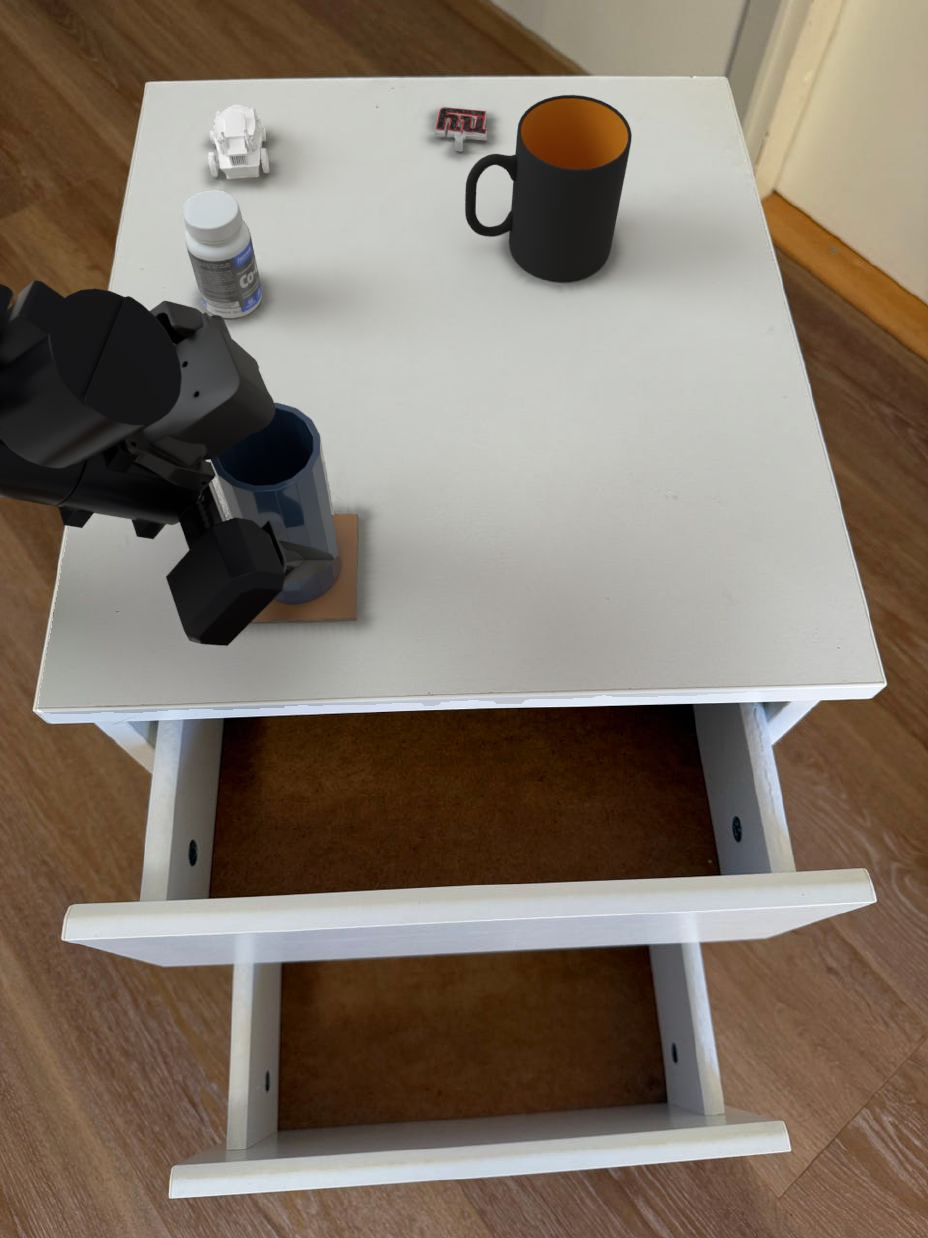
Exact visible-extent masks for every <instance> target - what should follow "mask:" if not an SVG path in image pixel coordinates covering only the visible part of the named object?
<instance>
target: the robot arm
mask: <svg viewBox="0 0 928 1238" xmlns="http://www.w3.org/2000/svg"><path fill="white" fill-rule="evenodd" d="M14 296H15V293H14V291H13V290H12V289H11V288H10V287H8V286H7V285H5V284H1V283H0V498H2V499H4V498H5V499H10V500H16V501H21V502H27V503H32V504H33V503H34V504H38V505H44V506H51V507H56V508H58V511H59V514H60V518H61V521H62V525H63V526H66V527H72V528H73V527H74V528H79V529H83V528H84V527H85V525H86V524H87V523H88V522H89V520H90V519H91V518H92V517H93V515H94V514H96V515H103V516H109V517H115V518H119V519H125V520H131V524H132V526H133V529H134V532H135V535H136V538H143V539H148V540H155V538H156V537H157V536H158V535H159V534H160V532H161V531H162V530H163V529H164V528H165V527H166V525H167V526H175V525H177V524H179V525H180V528H181V531H182V534H183V537H184V539H185V542H186V545H187V548H188V551H187V552H186V553H185V554H184V555H183V557H182V558H181V559H180V560H179V561H178V562H177V563H176V564H175V566H174V567H173V568H172V569H171V570H170V571H169V572H168V573H167V575H166V576H165V579H166V581H167V585H168V588H169V591H170V593H171V596H172V600H173V602H174V606H175V608H176V609H175V610H176V611H177V615H178V618H179V620H180V624H181V627H182V630H183V632H184V634H185V636H186V637H187V640H188V641H189V642H192V643H196V644H200V645H206V646H207V645H208V646H221V647H222V646H223V647H228V646H229V645H230V644H231V643H232V642H233V641H234V640H236V638H237V637H238V636H240V634H241V633H242V632H243V631H244V630H245V629H246V628H247V627H248V626H249V625H251V624H252V623H253V622H252V621H253V620H254V619H255V618H256V617H257V616H258V615H259V614H260V613H261V612H262V611H263V610H264V609H265V608H266V607H267V606H268V605H269V604H270V603H271V602H272V601H273V600H274V599H275V598H276V597H277V596H278V595H279V594H280V593H281V592H282V591H283V586H285V585H287V584H290V583H292V582H295V581H297V580H300V579H303V578H305V577H308V576H310V575H313V574H315V573H318V572H321V571H323V570H325V569H327V568H328V567H329V566H330V565H331V564H332V563H333V562H334V560H335V559H334V557H333V555H332V554H330V553H328V552H325V551H323V550H320V549H317V548H312V547H308V546H303V545H299V544H294V543H290V542H285V541H281V540H278V539H277V536H276V534H275V531H274V529H273V526H272V524H271V522H270V521H267V522H266V523H265V525H264V526H263V527H262V528H261V527H260V526H259V525H257V524H256V523H255V522H254V521H253V520H247V519H242V518H237V517H235V518H232V519H231V518H229V519H227V518H226V514H225V512H224V510H223V507H222V504H221V501H220V499H219V496H218V494H217V490H216V488H215V486H214V483H213V480H214V479H215V478H216V474H215V471H214V468H213V465H212V463H211V459H214V458H216V457H217V456H219V455H221V454H222V453H224V452H225V451H226V450H228V449H229V448H231V447H232V446H234V445H235V444H237V443H238V442H240V441H241V440H243V439H244V438H246V437H247V436H249V435H250V434H252V433H256V432H259V431H261V430H262V429H264V428H265V427H266V426H268V424H269V423H270V422H271V421H272V419H273V417H274V414H275V404H274V403H275V400H274V399H273V396H272V395H271V394H270V392H269V390H268V388H267V386H266V385H267V384H265V380H264V379H263V377H262V374H261V371H260V365H259V364H258V362H257V360H256V358H254V357H253V356H252V355H251V354H250V353H249V352H248V351H246V350H245V349H244V347H242V346H241V345H240V344H239V343H237V342H236V341H235V340H234V339H233V338H232V335H231V334H230V330H229V328H228V326H227V323H226V322H225V319H224V317H222V316H219V315H214V314H212V315H210V314H208V313H207V312H206V311H205V312H201V311H200V309H199V308H196V307H193V306H189V305H186V304H181V303H177V302H174V301H169V300H163V301H161V302H160V303H159V304H157V305H156V306H155V307H153V308H152V309H150V310H149V309H148V308H147V307H146V306H145V305H144V304H143V303H141V302H139V301H138V300H137V299H135V298H133V297H132V296H130V295H126V296H124V295H121V294H118V293H116V292H114V291H112V290H106V289H101V288H86V289H79V290H78V291H75V292H73V293H70V294H69V295H67V296H63V295H61V293H59V292H57V290H55V289H53V288H52V287H50V285H48V284H46V282H44V281H42V280H36V279H34V280H33V281H31V282H30V283H29V284H28V285H26V286H25V287H24V288H23V289H22V290H21V291H20V292H19V293H18V296H17V297H16V300H15V302H14V303H13V304H12V305H11V306H10V304H11V303H12V301H13V298H14Z"/></svg>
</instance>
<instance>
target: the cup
mask: <svg viewBox="0 0 928 1238" xmlns="http://www.w3.org/2000/svg"><path fill="white" fill-rule="evenodd" d="M274 404H275V414H274V417H273V419H272V421H271V422H270V423H269V424H268V426H266V427H265V428H264V429H262V430H261V431H259V432H256V433H252V434H250V435H249V436H247V437H246V438H244V439H243V440H241V441H240V442H238V443H237V444H235V445H234V446H232V447H231V448H229V449H228V450H226V451H225V452H224V453H222V454H221V455H219V456H217V457H216V458H214V459H211V460H210V462H211V464H212V467H213V469H214V472H215V475H216V476H215V478H216V479H217V482H218V485H219V488H220V490H221V494H222V497H223V500H224V503H225V505H226V508H227V510H228V513H229V516H230V519H232V518H235V517H237V518H242V519H247V520H253V521H254V522H255V523H256V524H257V525H259V526H260V527H261V528H262V527H263V526H264V525H265V523H266V522H267V521H270V522H271V524H272V526H273V529H274V531H275V534H276V536H277V539H278V540H281V541H285V542H290V543H294V544H299V545H303V546H308V547H312V548H317V549H320V550H323V551H325V552H328V553H330V554H332V555H333V557H334V559H335V560H334V562H333V563H332V564H331V565H330V566H329V567H328V568H327V569H325V570H323V571H321V572H318V573H315V574H313V575H310V576H308V577H305V578H303V579H300V580H297V581H295V582H292V583H290V584H287V585H285V586H283V591H282V592H281V593H280V594H279V595H278V596H277V597H276V598H275V599H274V600H276V601H278V602H282V603H288V604H299V603H305V602H309V601H312V600H314V599H317V598H319V597H320V596H322V595H323V594H325V593H326V592H327V591H328V590H329V589H330V588H331V587H332V586H333V585H334V583H335V582H336V580H337V579H338V577H339V574H340V571H341V564H342V560H341V549H340V543H339V538H338V532H337V527H336V521H335V516H334V514H335V509H334V504H333V500H332V495H331V488H330V482H329V478H328V472H327V466H326V461H325V454H324V450H323V443H322V439H321V434H320V432H319V431H318V428H317V427H316V425H315V423H314V421H313V420H312V419H311V418H310V417H309V416H308V415H307V414H305V413H304V412H303V411H301V410H300V409H299V408H297V407H294V406H290V405H287V404H284V403H281V402H274Z"/></svg>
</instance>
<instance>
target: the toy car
mask: <svg viewBox="0 0 928 1238" xmlns="http://www.w3.org/2000/svg"><path fill="white" fill-rule="evenodd" d="M209 136H210V137H209V138H210V141H211V143H212V145H215V148H216V150H217V157H216V154H215V152H214V151H209V152H208V153H207V158H208V166H209V170H210V174H211V177H213V178H218V176H219V169H220V170H221V171H222V172H223V173H224V174H225V176H226V180H234V179H247V178H259V177H260V165H261V167H262V171H263V174H269V173H270V164H269V163H270V162H269V155H268V151H267V148H264V147H263V142H264V143H265V142H267V132H266V127H262V121H261V118H260V116H259V114H258V113H257V110H256V108H255V107H251V108H250V107H247V106H244V105H242V104H232V105H231V106H229V107H227V108H225V109H223V110H222V111H221V110H217V111H216V112H215V116H214V121H213V129H212V130H211V129H210V131H209ZM217 158H218V161H217ZM218 167H219V168H218Z"/></svg>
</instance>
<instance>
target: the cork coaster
mask: <svg viewBox="0 0 928 1238" xmlns="http://www.w3.org/2000/svg"><path fill="white" fill-rule="evenodd" d="M334 516H335V521H336V527H337V532H338V538H339V543H340V549H341V560H342V564H341V571H340V574H339V577H338V579H337V580H336V582H335V583H334V585H333V586H332V587H331V588H330V589H329V590H328V591H327V592H326V593H325V594H323V595H322V596H320V597H319V598H317V599H314V600H312V601H309V602H305V603H299V604H288V603H282V602H278V601H276V600H273V601H272V602H271V603H270V604H269V605H268V606H267V607H266V608H265V609H264V610H263V611H262V612H261V613H260V614H259V615H258V616H257V617H256V618H255V619H254V620H253V621H252V622H251V623H281V622H284V623H285V622H287V623H288V622H289V623H290V622H324V621H325V622H326V621H356V620H357V619H358V618H357V615H358V614H357V611H358V610H357V608H358V605H357V604H358V602H357V601H358V549H359V548H358V546H359V545H358V544H359V543H358V541H359V539H358V538H359V537H358V536H359V515H358V513H336V514H335V513H334Z"/></svg>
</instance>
